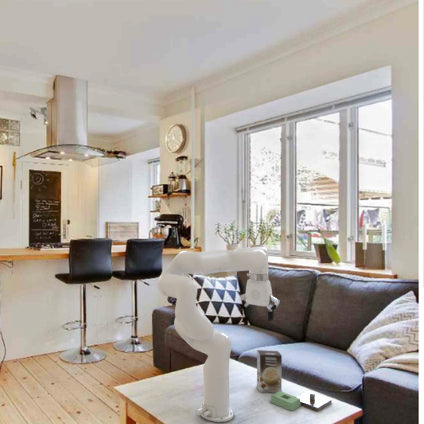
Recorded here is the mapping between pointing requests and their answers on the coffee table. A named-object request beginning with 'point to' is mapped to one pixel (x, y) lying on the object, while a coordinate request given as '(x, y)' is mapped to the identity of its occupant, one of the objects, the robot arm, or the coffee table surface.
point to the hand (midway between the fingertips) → (259, 318)
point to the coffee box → (269, 371)
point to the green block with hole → (285, 400)
